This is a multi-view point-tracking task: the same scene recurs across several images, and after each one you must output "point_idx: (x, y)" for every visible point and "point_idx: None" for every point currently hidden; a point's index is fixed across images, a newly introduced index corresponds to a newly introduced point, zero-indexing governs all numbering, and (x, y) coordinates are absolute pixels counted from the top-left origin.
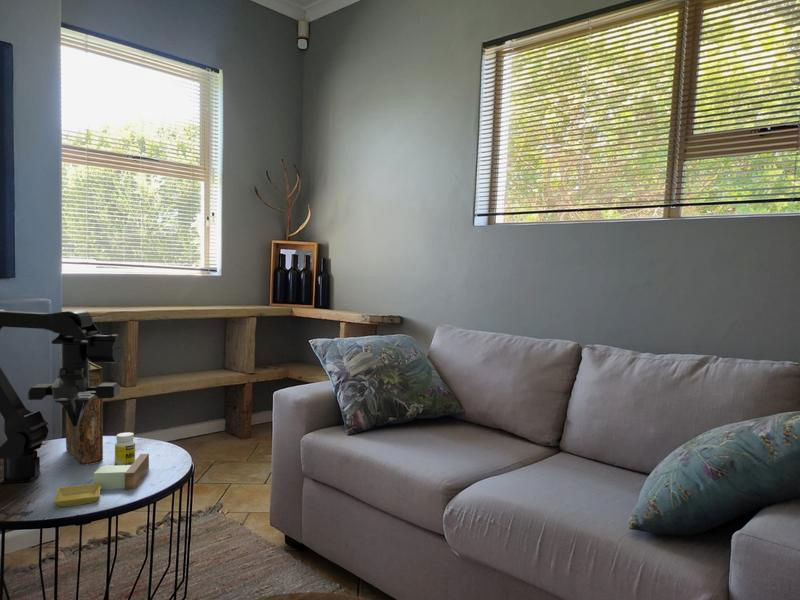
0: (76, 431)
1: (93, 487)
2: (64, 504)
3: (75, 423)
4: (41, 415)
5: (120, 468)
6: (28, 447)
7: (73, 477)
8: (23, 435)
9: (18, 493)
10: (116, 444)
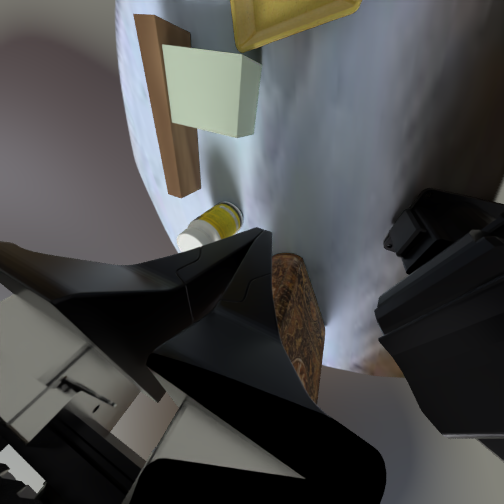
0: (297, 324)
1: (256, 40)
2: None
3: (255, 233)
4: (418, 395)
5: (186, 94)
6: (480, 232)
7: (313, 187)
8: None
9: (493, 79)
10: (214, 232)
